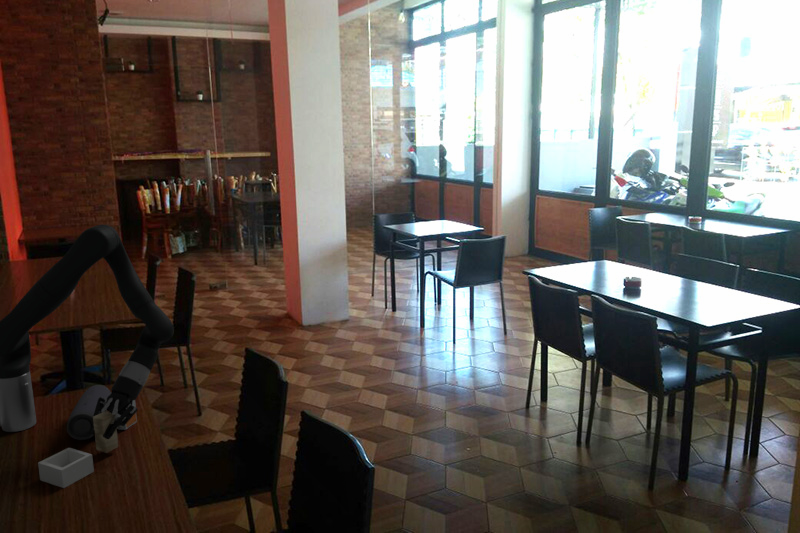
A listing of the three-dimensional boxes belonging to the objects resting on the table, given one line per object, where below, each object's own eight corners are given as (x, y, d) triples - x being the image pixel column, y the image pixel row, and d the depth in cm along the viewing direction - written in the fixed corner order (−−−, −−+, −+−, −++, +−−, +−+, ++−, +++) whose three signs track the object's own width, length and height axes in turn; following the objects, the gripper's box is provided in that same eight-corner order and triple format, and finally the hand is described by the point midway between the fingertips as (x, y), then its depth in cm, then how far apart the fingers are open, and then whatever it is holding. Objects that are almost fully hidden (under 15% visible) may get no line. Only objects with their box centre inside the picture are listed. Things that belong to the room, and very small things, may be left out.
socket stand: (40, 480, 165) (38, 462, 164) (70, 464, 173) (68, 447, 172) (63, 488, 161) (61, 470, 160) (93, 471, 169) (92, 454, 168)
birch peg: (96, 449, 177) (92, 416, 175) (108, 443, 181) (105, 411, 179) (106, 452, 176) (103, 419, 174) (118, 446, 179) (115, 413, 177)
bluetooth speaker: (101, 442, 186) (98, 410, 184) (66, 446, 183) (62, 413, 181) (115, 410, 207) (112, 381, 205) (84, 413, 205) (81, 384, 203)
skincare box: (126, 430, 193) (122, 393, 190) (113, 429, 194) (109, 392, 191) (137, 421, 199) (134, 386, 196) (125, 420, 199) (122, 385, 197)
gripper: (105, 370, 184) (72, 426, 176) (141, 378, 178) (109, 436, 170) (121, 381, 190) (91, 436, 181) (157, 389, 184) (126, 446, 176)
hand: (100, 436), depth 176 cm, fingers closed on birch peg, 4 cm apart
